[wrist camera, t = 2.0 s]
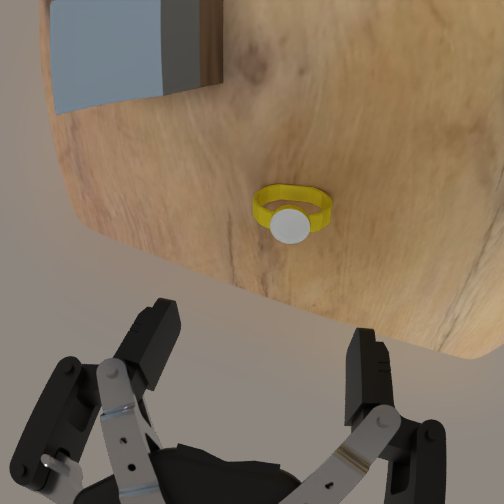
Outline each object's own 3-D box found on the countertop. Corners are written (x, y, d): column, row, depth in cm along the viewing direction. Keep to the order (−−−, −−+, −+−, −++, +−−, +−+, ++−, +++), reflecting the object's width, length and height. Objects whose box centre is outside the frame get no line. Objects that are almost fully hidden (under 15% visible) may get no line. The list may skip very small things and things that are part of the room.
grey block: (199, -23, 12) (162, -44, 8) (200, 87, 16) (163, 95, 12) (98, 5, 13) (50, 3, 9) (102, 99, 17) (55, 115, 14)
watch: (330, 179, 23) (339, 212, 18) (326, 208, 25) (333, 247, 20) (257, 174, 24) (247, 206, 19) (258, 204, 26) (248, 241, 21)
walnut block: (223, -7, 15) (200, -23, 11) (223, 82, 20) (200, 87, 16) (135, 9, 17) (99, 4, 13) (137, 90, 21) (102, 98, 17)
